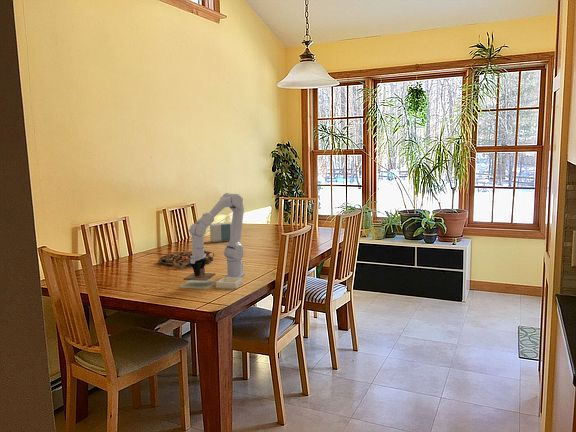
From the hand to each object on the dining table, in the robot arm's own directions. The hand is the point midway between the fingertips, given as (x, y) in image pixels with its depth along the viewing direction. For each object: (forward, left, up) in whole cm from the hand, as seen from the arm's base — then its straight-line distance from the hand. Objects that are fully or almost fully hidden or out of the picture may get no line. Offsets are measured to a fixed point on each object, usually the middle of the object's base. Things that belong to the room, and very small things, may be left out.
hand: (199, 274), depth 242 cm
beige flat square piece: (0, 0, -5) cm, 5 cm away
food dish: (-46, -28, -6) cm, 54 cm away
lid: (0, 0, -1) cm, 1 cm away
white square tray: (0, +16, -5) cm, 17 cm away
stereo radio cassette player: (-115, -31, -5) cm, 119 cm away
